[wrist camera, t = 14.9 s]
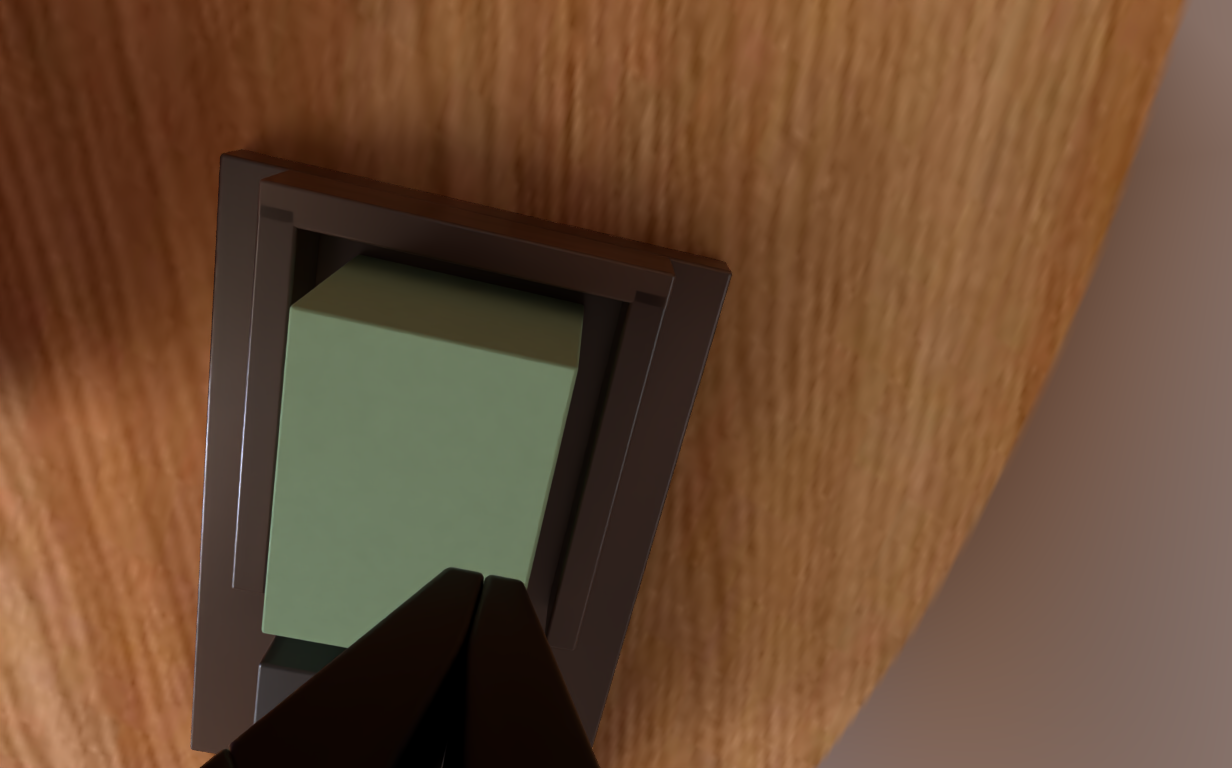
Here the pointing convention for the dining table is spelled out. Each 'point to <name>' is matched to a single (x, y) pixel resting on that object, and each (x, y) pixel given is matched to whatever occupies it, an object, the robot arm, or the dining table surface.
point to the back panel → (590, 448)
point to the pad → (411, 441)
